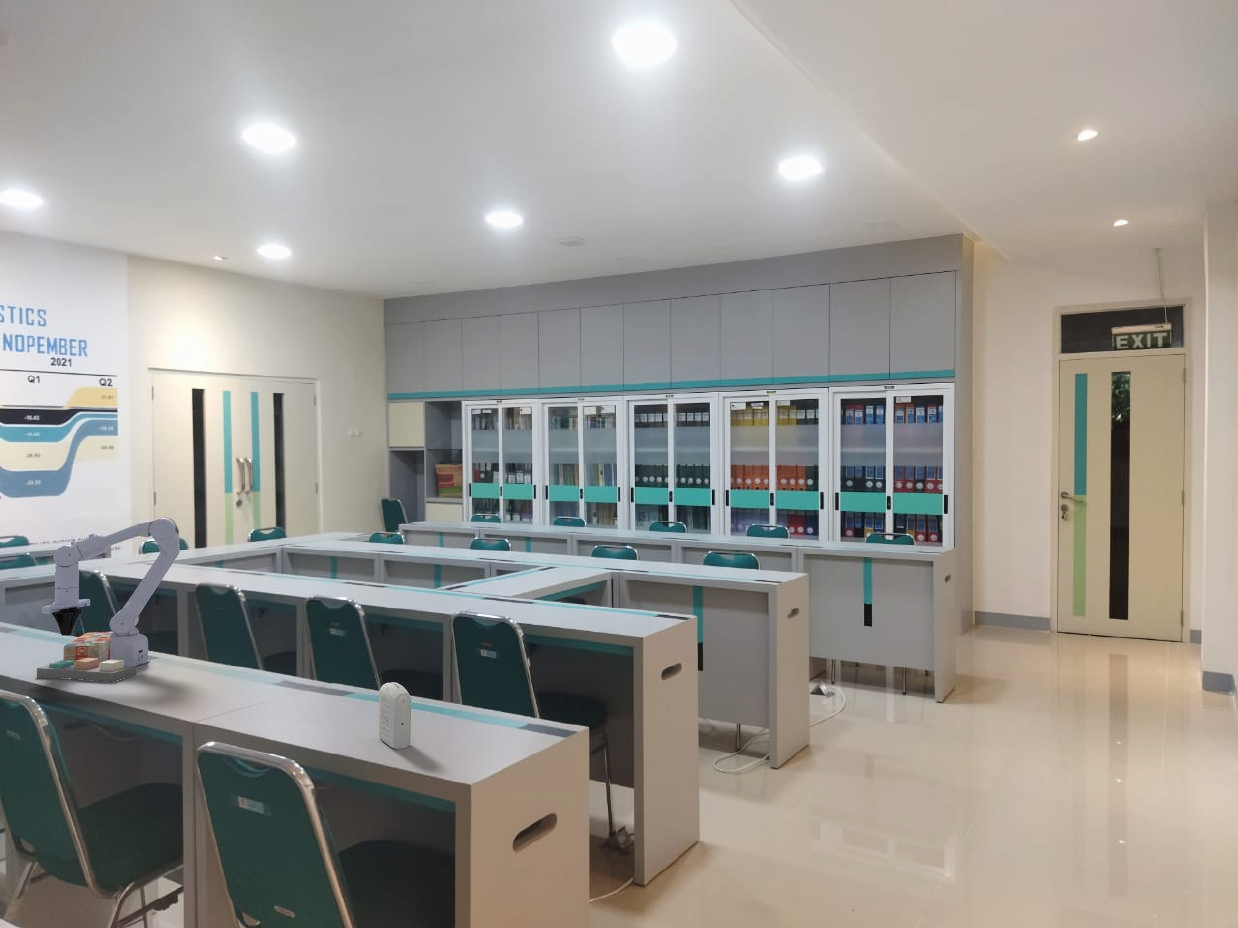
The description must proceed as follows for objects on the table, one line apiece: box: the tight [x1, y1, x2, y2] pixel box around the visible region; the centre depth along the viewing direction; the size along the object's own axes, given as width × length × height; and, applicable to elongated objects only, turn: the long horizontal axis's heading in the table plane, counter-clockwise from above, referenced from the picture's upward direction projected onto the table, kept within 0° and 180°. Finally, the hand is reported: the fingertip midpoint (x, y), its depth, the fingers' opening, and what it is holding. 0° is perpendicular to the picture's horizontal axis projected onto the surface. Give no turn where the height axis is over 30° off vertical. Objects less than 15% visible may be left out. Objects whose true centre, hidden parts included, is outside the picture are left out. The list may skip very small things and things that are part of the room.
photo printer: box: [378, 682, 412, 750], centre depth 178 cm, size 10×4×12 cm, turn 35°
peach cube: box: [74, 658, 99, 669], centre depth 231 cm, size 4×4×4 cm
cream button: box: [100, 659, 124, 671], centre depth 229 cm, size 4×4×4 cm
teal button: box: [48, 660, 74, 668], centre depth 232 cm, size 4×4×4 cm
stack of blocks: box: [63, 630, 113, 664], centre depth 252 cm, size 21×6×12 cm
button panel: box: [36, 662, 137, 683], centre depth 231 cm, size 24×8×2 cm, turn 79°
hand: (66, 635), depth 240 cm, fingers closed
